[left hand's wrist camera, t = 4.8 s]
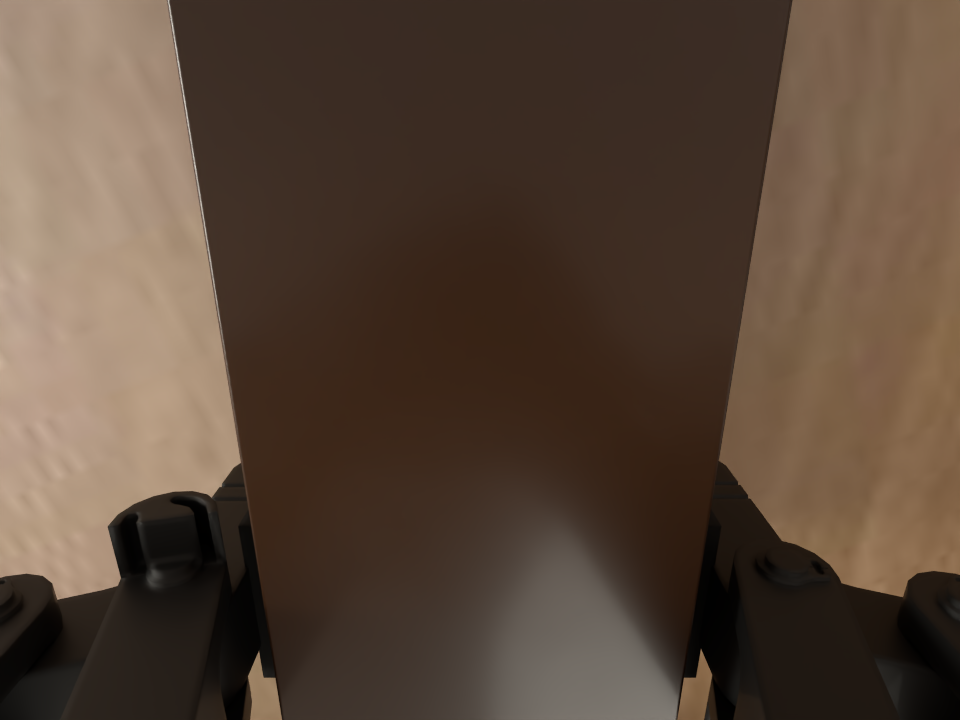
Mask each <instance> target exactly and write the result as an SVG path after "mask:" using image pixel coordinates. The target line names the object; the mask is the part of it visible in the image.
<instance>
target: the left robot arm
mask: <svg viewBox="0 0 960 720" xmlns="http://www.w3.org/2000/svg"><path fill="white" fill-rule="evenodd" d="M108 530H109V534H110V537H111V541H112V545H113V549H114V553H115V557H116V560H117V564H118V568H119V572H120V576H121V580H120V582H119V585H118V586H116V587H113V588H109V589H106V590H102V591H97V592H92V593H88V594H83V595H78V596H73V597H69V598H64V599H59V600H57V598H56V594H55V591H54V588H53V585H52V583H51V582H50V581H48V580H47V579H46V578H45V577H43V576H38V575H31V574H21V575H13V576H5V577H2V578H0V720H250V715H251V706H252V698H251V691H250V685H249V680H248V675H249V673H250V670H251V668H252V665H253V663H254V661H255V658H256V656H257V654H258V651H259V653H260V659H261V665H262V670H263V676H264V678H275V671H274V665H273V659H272V653H271V646H270V640H269V634H268V628H267V621H266V615H265V609H264V603H263V596H262V590H261V584H260V578H259V571H258V565H257V559H256V553H255V546H254V540H253V534H252V528H251V522H250V515H249V509H248V503H247V497H246V490H245V484H244V478H243V472H242V465H241V463H240V464H239V465H237V466H236V467H234V468H233V470H232V471H231V472H230V474H229V475H228V476H227V478H226V479H225V481H224V482H223V483H222V487H219V489H218V490H217V491H216V493H215V494H214V495H213V497H212V498H211V497H210V496H209V495H207V494H203V493H198V492H194V491H184V492H171V493H167V494H162V495H157V496H153V497H151V498H148V499H146V500H143V501H141V502H138V503H136V504H134V505H132V506H131V507H129V508H128V509H126V510H124V511H123V512H121V513H120V514H118V515H117V516H116V518H115V519H114V520H113V521H112V522H111V523H110V525H109V526H108ZM701 649H702V652H703V654H704V656H705V659H706V661H707V663H708V666H709V668H710V670H711V673H712V680H711V685H710V691H709V696H708V702H707V707H706V713H705V718H704V720H960V575H957V574H953V573H945V572H937V571H931V572H924V573H917V574H916V575H915V576H914V577H912V578H911V579H910V580H908V583H907V586H906V590H905V593H904V596H903V597H899V596H894V595H889V594H885V593H880V592H875V591H871V590H866V589H861V588H856V587H853V586H849V585H846V584H842V583H841V581H840V579H839V577H838V576H837V574H836V573H835V571H834V570H833V569H832V567H831V566H830V565H829V564H828V563H827V562H825V561H824V560H823V559H821V558H820V557H819V556H817V555H816V554H815V553H813V552H811V551H808V550H806V549H804V548H802V547H800V546H798V545H795V544H791V543H787V542H783V541H781V539H780V538H779V537H778V535H777V534H776V533H775V531H774V530H773V528H772V527H771V526H770V524H769V523H768V522H767V520H766V519H765V518H764V516H763V515H762V514H761V512H760V511H759V510H758V508H757V507H756V506H755V504H754V503H753V501H752V500H751V499H748V495H747V493H746V492H745V491H744V489H743V488H742V487H741V485H738V481H737V480H736V479H735V477H734V476H733V475H732V473H731V472H730V470H729V469H728V468H727V466H726V465H724V464H723V463H721V462H720V461H718V468H717V474H716V480H715V486H714V492H713V499H712V505H711V511H710V517H709V524H708V530H707V536H706V542H705V549H704V555H703V561H702V567H701V574H700V580H699V586H698V592H697V599H696V605H695V611H694V617H693V624H692V630H691V636H690V642H689V649H688V655H687V661H686V667H685V674H684V678H696V674H697V668H698V662H699V656H700V650H701Z"/></svg>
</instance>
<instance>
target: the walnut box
mask: <svg viewBox="0 0 960 720" xmlns="http://www.w3.org/2000/svg"><path fill="white" fill-rule="evenodd" d="M167 3H168V9H169V16H170V22H171V28H172V34H173V41H174V47H175V53H176V59H177V66H178V72H179V78H180V84H181V91H182V97H183V103H184V109H185V116H186V122H187V128H188V134H189V141H190V147H191V153H192V159H193V166H194V172H195V178H196V184H197V191H198V197H199V203H200V209H201V216H202V222H203V228H204V234H205V241H206V247H207V253H208V259H209V266H210V272H211V278H212V284H213V290H214V297H215V303H216V309H217V315H218V322H219V328H220V334H221V340H222V347H223V353H224V359H225V365H226V372H227V378H228V384H229V390H230V397H231V403H232V409H233V415H234V422H235V428H236V434H237V440H238V447H239V453H240V459H241V465H242V472H243V478H244V484H245V490H246V497H247V503H248V509H249V515H250V522H251V528H252V534H253V540H254V546H255V553H256V559H257V565H258V571H259V578H260V584H261V590H262V596H263V603H264V609H265V615H266V621H267V628H268V634H269V640H270V646H271V653H272V659H273V665H274V671H275V678H276V684H277V690H278V696H279V703H280V709H281V715H282V720H677V717H678V711H679V705H680V699H681V692H682V686H683V680H684V674H685V667H686V661H687V655H688V649H689V642H690V636H691V630H692V624H693V617H694V611H695V605H696V599H697V592H698V586H699V580H700V574H701V567H702V561H703V555H704V549H705V542H706V536H707V530H708V524H709V517H710V511H711V505H712V499H713V492H714V486H715V480H716V474H717V468H718V461H719V455H720V449H721V443H722V436H723V430H724V424H725V418H726V411H727V405H728V399H729V393H730V386H731V380H732V374H733V368H734V361H735V355H736V349H737V343H738V336H739V330H740V324H741V318H742V311H743V305H744V299H745V293H746V286H747V280H748V274H749V268H750V261H751V255H752V249H753V243H754V236H755V230H756V224H757V218H758V211H759V205H760V199H761V193H762V186H763V180H764V174H765V168H766V161H767V155H768V149H769V143H770V137H771V130H772V124H773V118H774V112H775V105H776V99H777V93H778V87H779V80H780V74H781V68H782V62H783V55H784V49H785V43H786V37H787V30H788V24H789V18H790V12H791V5H792V0H167Z"/></svg>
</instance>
